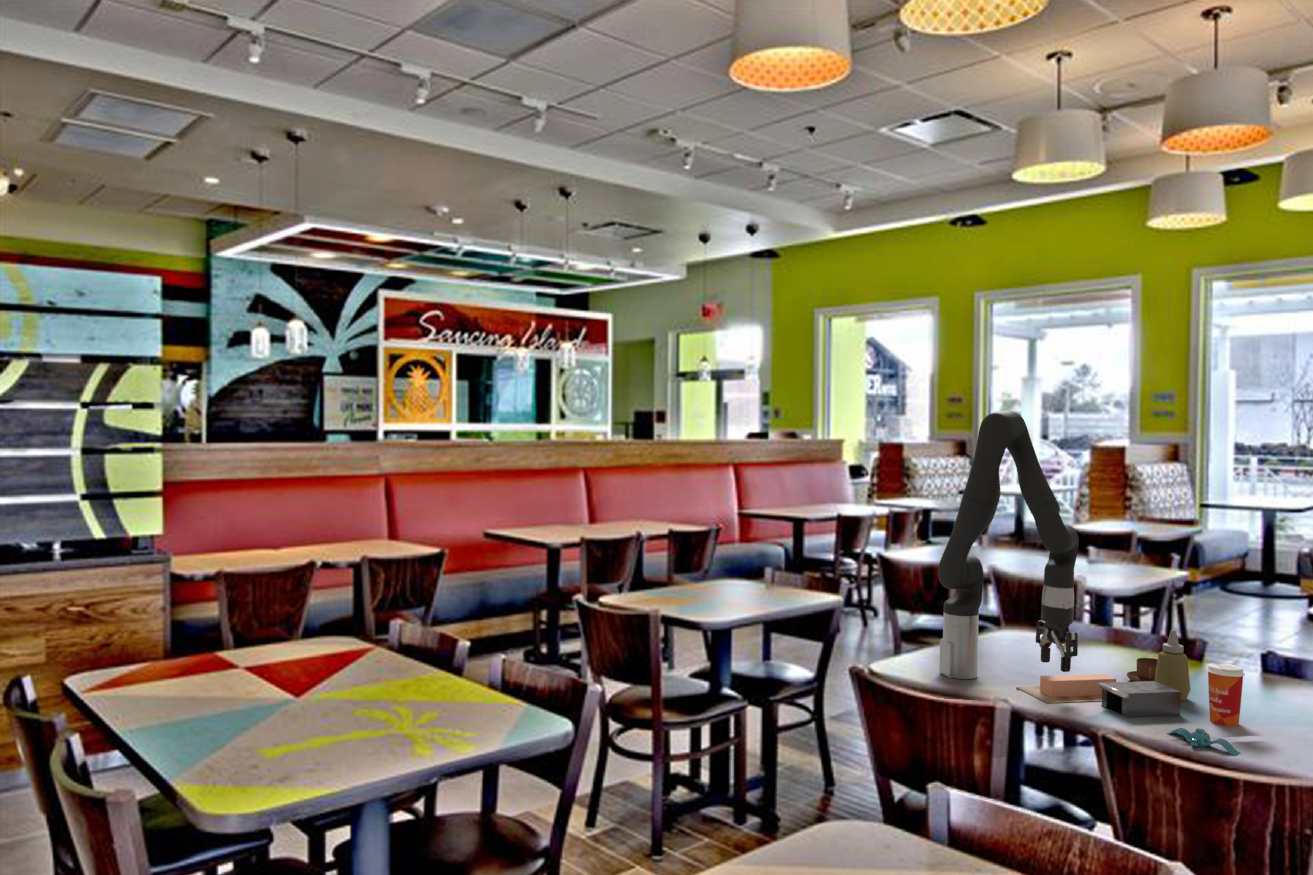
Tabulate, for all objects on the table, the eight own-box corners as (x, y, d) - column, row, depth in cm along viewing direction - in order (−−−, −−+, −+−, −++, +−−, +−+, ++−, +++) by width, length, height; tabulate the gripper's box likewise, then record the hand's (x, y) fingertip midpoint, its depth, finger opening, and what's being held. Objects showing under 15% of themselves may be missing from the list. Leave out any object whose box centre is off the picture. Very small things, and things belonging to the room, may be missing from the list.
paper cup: (1197, 721, 225) (1199, 662, 225) (1228, 721, 226) (1229, 662, 225) (1220, 732, 217) (1221, 670, 217) (1251, 731, 218) (1253, 670, 218)
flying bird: (1156, 740, 211) (1156, 723, 211) (1170, 735, 216) (1170, 718, 216) (1230, 760, 200) (1231, 741, 200) (1243, 753, 204) (1244, 735, 204)
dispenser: (1124, 722, 224) (1124, 693, 224) (1097, 709, 234) (1098, 682, 233) (1180, 719, 226) (1181, 691, 226) (1152, 707, 236) (1152, 680, 236)
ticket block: (1051, 696, 240) (1051, 680, 240) (1039, 691, 245) (1040, 675, 245) (1116, 694, 243) (1116, 678, 243) (1103, 688, 248) (1103, 673, 248)
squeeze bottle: (1194, 707, 237) (1196, 634, 236) (1159, 704, 238) (1161, 632, 238) (1183, 698, 245) (1185, 628, 244) (1149, 695, 246) (1151, 626, 246)
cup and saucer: (1182, 691, 252) (1183, 668, 252) (1133, 688, 254) (1134, 665, 254) (1168, 679, 264) (1168, 657, 263) (1121, 676, 266) (1121, 654, 266)
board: (1046, 707, 235) (1047, 702, 235) (1016, 691, 248) (1016, 686, 248) (1142, 703, 239) (1142, 699, 239) (1106, 688, 253) (1107, 683, 253)
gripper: (1028, 597, 249) (1025, 659, 249) (1061, 609, 235) (1058, 675, 236) (1054, 597, 250) (1051, 658, 251) (1088, 609, 236) (1085, 674, 237)
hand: (1055, 666), depth 243 cm, fingers open, 8 cm apart
